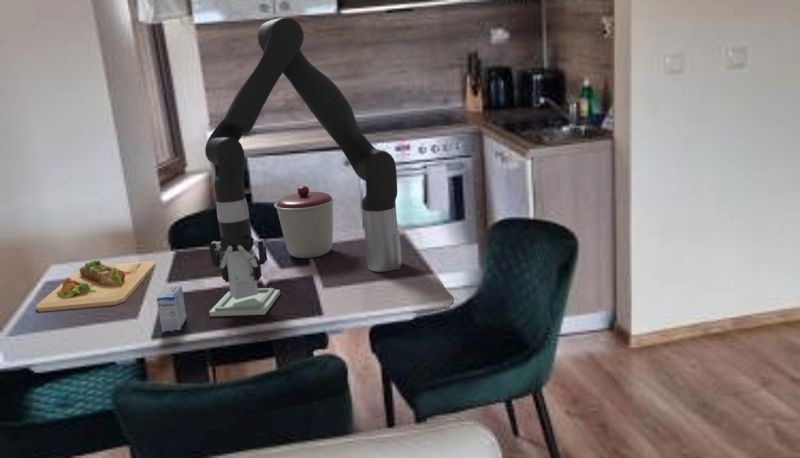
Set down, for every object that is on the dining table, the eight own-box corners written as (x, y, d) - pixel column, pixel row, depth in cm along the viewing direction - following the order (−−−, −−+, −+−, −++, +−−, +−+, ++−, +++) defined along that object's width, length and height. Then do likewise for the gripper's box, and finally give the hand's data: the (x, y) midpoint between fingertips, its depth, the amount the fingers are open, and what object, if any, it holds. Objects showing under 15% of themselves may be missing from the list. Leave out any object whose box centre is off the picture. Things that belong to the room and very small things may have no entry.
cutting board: (122, 306, 201) (117, 279, 199) (33, 314, 201) (27, 287, 199) (158, 265, 235) (153, 242, 233) (82, 272, 235) (77, 249, 233)
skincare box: (236, 300, 189) (229, 254, 185) (230, 295, 192) (223, 250, 189) (259, 294, 192) (253, 248, 189) (252, 289, 195) (246, 244, 192)
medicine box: (168, 320, 187) (163, 287, 184) (187, 318, 187) (181, 285, 185) (162, 332, 179) (155, 298, 177) (181, 330, 179) (175, 296, 177)
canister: (273, 264, 225) (264, 194, 219) (290, 246, 242) (282, 181, 236) (333, 261, 222) (325, 191, 216) (345, 243, 239) (338, 178, 234)
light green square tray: (280, 294, 198) (279, 287, 198) (265, 314, 185) (264, 307, 185) (228, 296, 200) (227, 289, 200) (210, 316, 187) (208, 309, 186)
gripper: (266, 212, 189) (274, 274, 194) (211, 214, 191) (220, 276, 196) (257, 219, 182) (266, 284, 187) (200, 222, 184) (210, 286, 188)
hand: (242, 280), depth 191 cm, fingers closed on skincare box, 7 cm apart
